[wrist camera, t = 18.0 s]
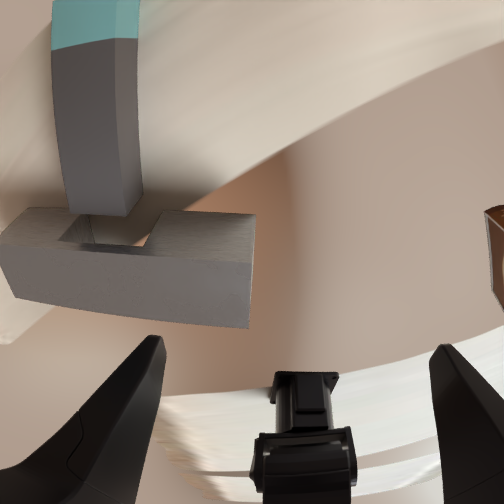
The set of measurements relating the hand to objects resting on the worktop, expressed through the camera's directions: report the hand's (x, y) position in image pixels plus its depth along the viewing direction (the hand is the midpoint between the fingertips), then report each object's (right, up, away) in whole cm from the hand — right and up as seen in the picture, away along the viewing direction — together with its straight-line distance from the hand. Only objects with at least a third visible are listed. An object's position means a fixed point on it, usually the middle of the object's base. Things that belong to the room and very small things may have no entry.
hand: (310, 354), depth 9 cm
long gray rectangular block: (-11, +4, +13) cm, 17 cm away
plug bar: (-10, +12, +7) cm, 17 cm away
